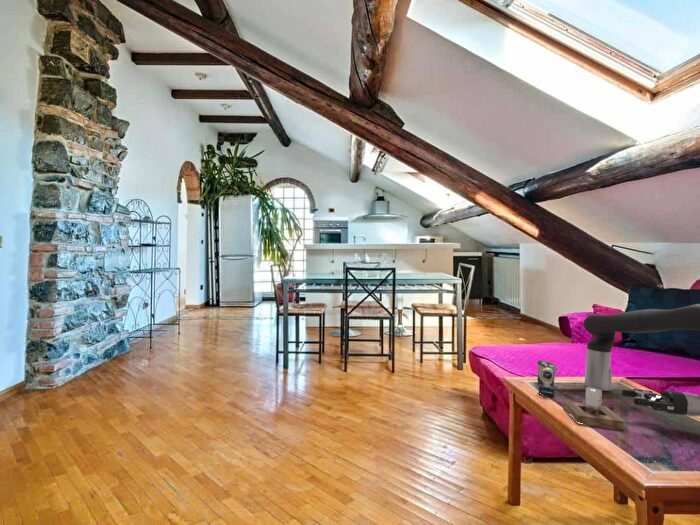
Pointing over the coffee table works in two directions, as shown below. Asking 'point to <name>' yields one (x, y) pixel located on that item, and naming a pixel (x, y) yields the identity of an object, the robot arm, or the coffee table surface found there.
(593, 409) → the ribbed metal cylinder
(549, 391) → the watch
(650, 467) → the coffee table surface
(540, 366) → the food container
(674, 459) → the coffee table surface
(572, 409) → the walnut socket block
